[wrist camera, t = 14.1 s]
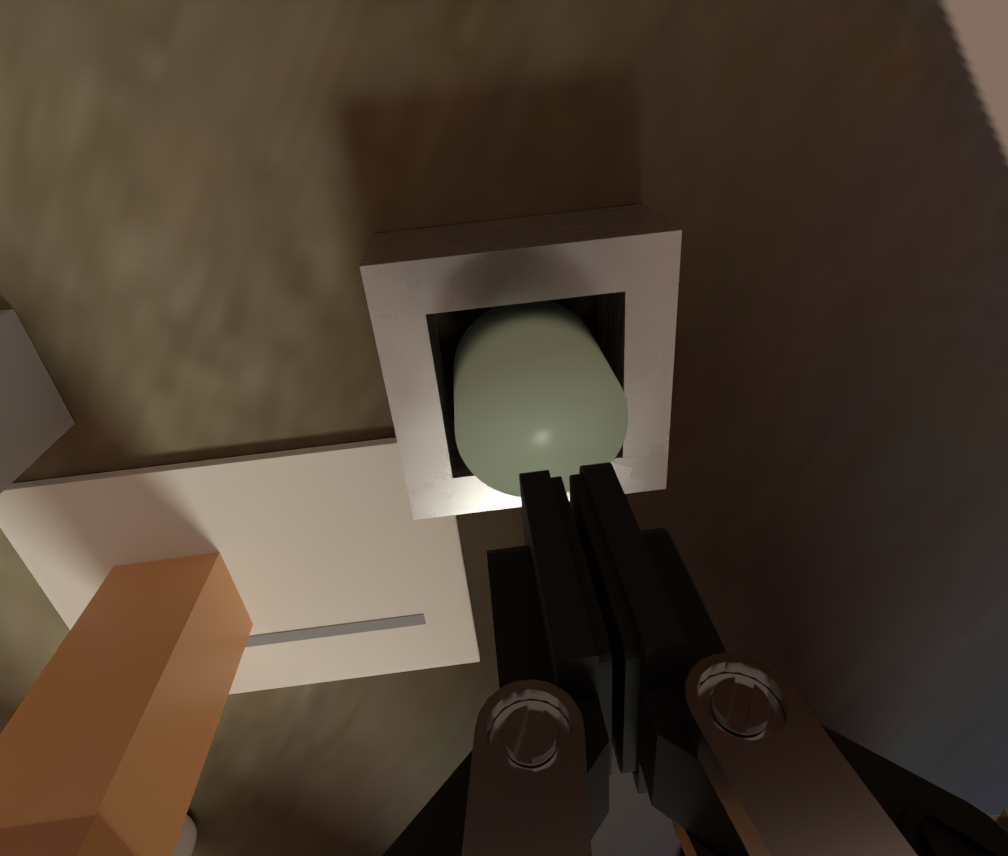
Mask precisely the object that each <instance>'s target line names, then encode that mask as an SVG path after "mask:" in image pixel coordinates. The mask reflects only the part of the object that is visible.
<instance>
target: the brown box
mask: <svg viewBox="0 0 1008 856" xmlns="http://www.w3.org/2000/svg"><path fill="white" fill-rule="evenodd" d="M252 626H253V623H252V621H251V618H250V616H249V614H248V612H247V610H246V608H245V605H244V603H243V601H242V599H241V597H240V595H239V592H238V590H237V588H236V586H235V584H234V582H233V579H232V577H231V575H230V573H229V571H228V569H227V567H226V564H225V562H224V560H223V558H222V556H221V554H220V552H217V553H209V554H202V555H194V556H187V557H179V558H171V559H164V560H156V561H149V562H141V563H134V564H126V565H119V566H113V568H112V569H111V571H110V572H109V574H108V575H107V577H106V578H105V580H104V581H103V583H102V584H101V586H100V587H99V589H98V590H97V592H96V593H95V595H94V596H93V598H92V599H91V601H90V602H89V603H88V605H87V606H86V608H85V609H84V611H83V612H82V614H81V615H80V617H79V618H78V620H77V621H76V623H75V624H74V626H73V627H72V629H71V630H70V632H69V633H68V635H67V636H66V637H65V639H64V640H63V642H62V643H61V645H60V646H59V648H58V649H57V651H56V652H55V654H54V655H53V657H52V658H51V660H50V661H49V663H48V664H47V666H46V667H45V669H44V670H43V672H42V673H41V674H40V676H39V677H38V679H37V680H36V682H35V683H34V685H33V686H32V688H31V689H30V691H29V692H28V694H27V695H26V697H25V698H24V700H23V701H22V703H21V704H20V706H19V707H18V709H17V710H16V711H15V713H14V714H13V716H12V717H11V719H10V720H9V722H8V723H7V725H6V726H5V728H4V729H3V731H2V732H1V734H0V856H172V854H173V851H174V849H175V846H176V843H177V840H178V837H179V834H180V831H181V829H182V826H183V823H184V820H185V817H186V814H187V812H188V809H189V806H190V803H191V800H192V797H193V794H194V792H195V789H196V786H197V783H198V780H199V777H200V774H201V772H202V769H203V766H204V763H205V760H206V757H207V755H208V752H209V749H210V746H211V743H212V740H213V737H214V735H215V732H216V729H217V726H218V723H219V720H220V717H221V715H222V712H223V709H224V706H225V703H226V700H227V697H228V695H229V692H230V689H231V686H232V683H233V680H234V678H235V675H236V672H237V669H238V666H239V663H240V660H241V658H242V655H243V652H244V649H245V646H246V643H247V640H248V638H249V635H250V632H251V629H252Z"/></svg>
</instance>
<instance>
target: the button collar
mask: <svg viewBox="0 0 1008 856" xmlns="http://www.w3.org/2000/svg"><path fill="white" fill-rule="evenodd" d="M681 239H682V230H681V229H680V228H678V227H677V226H675V225H674V224H672V223H671V222H669V221H668V220H666V219H665V218H663V217H662V216H660V215H659V214H657V213H655V212H654V211H652V210H651V209H649V208H648V207H646V206H645V205H643V204H636V205H627V206H618V207H609V208H600V209H591V210H582V211H573V212H564V213H555V214H546V215H537V216H528V217H519V218H510V219H502V220H493V221H484V222H475V223H466V224H457V225H448V226H439V227H430V228H421V229H412V230H403V231H394V232H385V233H376V234H374V235H373V238H372V240H371V242H370V244H369V246H368V249H367V251H366V253H365V255H364V258H363V260H362V262H361V264H360V266H359V267H360V271H361V276H362V281H363V285H364V290H365V295H366V299H367V304H368V309H369V313H370V318H371V322H372V327H373V332H374V336H375V341H376V346H377V350H378V355H379V359H380V364H381V369H382V373H383V378H384V383H385V387H386V392H387V397H388V401H389V406H390V410H391V415H392V420H393V424H394V429H395V434H396V438H397V443H398V447H399V452H400V457H401V461H402V466H403V471H404V475H405V480H406V485H407V489H408V494H409V498H410V503H411V508H412V512H413V517H414V520H419V519H427V518H435V517H443V516H451V515H459V514H467V513H475V512H483V511H491V510H499V509H507V508H515V507H522V503H521V497H516V496H512V495H508V494H505V493H502V492H500V491H497V490H495V489H493V488H491V487H489V486H487V485H486V484H485V483H483V482H482V481H480V480H479V479H478V478H477V477H476V476H475V475H474V474H473V473H472V472H471V471H470V470H469V468H468V467H467V466H466V464H465V463H464V461H463V459H462V458H461V455H460V453H459V450H458V448H457V443H456V439H455V424H454V420H453V421H452V419H451V413H450V406H449V400H448V394H447V387H446V381H445V375H444V368H443V362H442V355H441V349H440V343H439V336H438V330H437V324H436V317H435V313H442V312H451V311H460V310H468V309H477V308H486V307H494V306H503V305H512V304H520V303H529V302H538V301H546V300H555V299H564V298H572V297H581V296H590V295H597V344H598V346H599V348H600V350H601V352H602V353H603V355H604V357H605V359H606V360H607V362H608V364H609V366H610V368H611V369H612V371H613V373H614V375H615V376H616V378H617V380H618V382H619V384H620V385H621V387H622V389H623V392H624V394H625V397H626V400H627V405H628V415H629V419H628V429H627V433H626V437H625V439H624V442H623V445H622V447H621V449H620V451H619V452H618V454H617V456H616V457H615V458H614V460H613V461H612V463H611V464H612V466H613V468H614V470H615V473H616V475H617V477H618V480H619V482H620V484H621V487H622V489H623V491H624V494H628V493H636V492H644V491H652V490H660V489H666V482H667V466H668V449H669V433H670V417H671V401H672V385H673V369H674V352H675V336H676V320H677V304H678V288H679V272H680V255H681ZM566 494H567V497H568V500H569V501H570V492H568V493H566Z"/></svg>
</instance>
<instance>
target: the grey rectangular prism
mask: <svg viewBox="0 0 1008 856" xmlns="http://www.w3.org/2000/svg"><path fill="white" fill-rule="evenodd" d="M74 424H75V422H74V420H73V419H72V417H71V415H70V413H69V411H68V409H67V407H66V405H65V404H64V402H63V400H62V398H61V396H60V394H59V392H58V391H57V389H56V387H55V385H54V383H53V381H52V379H51V377H50V376H49V374H48V372H47V370H46V368H45V366H44V364H43V362H42V361H41V359H40V357H39V355H38V353H37V351H36V349H35V347H34V346H33V344H32V342H31V340H30V338H29V336H28V334H27V333H26V331H25V329H24V327H23V325H22V323H21V321H20V319H19V318H18V316H17V314H16V312H15V310H14V309H7V310H0V494H1V493H2V492H3V491H4V490H5V489H6V488H7V487H8V486H9V485H10V484H11V483H12V482H13V481H14V480H15V479H17V478H18V477H19V476H20V475H21V474H22V473H23V472H24V471H25V470H26V469H27V468H28V467H29V466H30V465H31V464H32V463H34V462H35V461H36V460H37V459H38V458H39V457H40V456H41V455H42V454H43V453H44V452H45V451H46V450H47V449H48V448H49V447H51V446H52V445H53V444H54V443H55V442H56V441H57V440H58V439H59V438H60V437H61V436H62V435H63V434H64V433H65V432H67V431H68V430H69V429H70V428H71V427H72V426H73V425H74Z"/></svg>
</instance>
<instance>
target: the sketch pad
mask: <svg viewBox="0 0 1008 856" xmlns="http://www.w3.org/2000/svg"><path fill="white" fill-rule="evenodd" d="M0 528H1V529H2V531H3V532H4V534H5V535H6V537H7V538H8V540H9V541H10V543H11V544H12V545H13V547H14V548H15V550H16V551H17V553H18V554H19V556H20V557H21V559H22V560H23V562H24V563H25V565H26V566H27V568H28V569H29V570H30V572H31V573H32V575H33V576H34V578H35V579H36V581H37V582H38V584H39V585H40V587H41V588H42V590H43V591H44V592H45V594H46V595H47V597H48V598H49V600H50V601H51V603H52V604H53V606H54V607H55V609H56V610H57V612H58V613H59V614H60V616H61V617H62V619H63V620H64V622H65V623H66V625H67V626H68V628H69V629H70V630H71V629H72V627H73V626H74V624H75V623H76V621H77V620H78V618H79V617H80V615H81V614H82V612H83V611H84V609H85V608H86V606H87V605H88V603H89V602H90V601H91V599H92V598H93V596H94V595H95V593H96V592H97V590H98V589H99V587H100V586H101V584H102V583H103V581H104V580H105V578H106V577H107V575H108V574H109V572H110V571H111V569H112V568H113V566H119V565H126V564H134V563H141V562H149V561H156V560H164V559H171V558H179V557H187V556H194V555H202V554H209V553H217V552H220V554H221V556H222V558H223V560H224V562H225V564H226V567H227V569H228V571H229V573H230V575H231V577H232V579H233V582H234V584H235V586H236V588H237V590H238V592H239V595H240V597H241V599H242V601H243V603H244V605H245V608H246V610H247V612H248V614H249V616H250V618H251V621H252V623H253V626H252V629H251V632H250V635H249V638H248V640H247V643H246V646H245V649H244V652H243V655H242V658H241V660H240V663H239V666H238V669H237V672H236V675H235V678H234V680H233V683H232V686H231V689H230V692H229V694H236V693H243V692H251V691H259V690H266V689H274V688H282V687H289V686H297V685H305V684H312V683H320V682H328V681H335V680H343V679H351V678H358V677H366V676H374V675H381V674H389V673H397V672H404V671H412V670H420V669H427V668H435V667H443V666H450V665H458V664H466V663H473V662H480V654H479V648H478V642H477V636H476V630H475V624H474V619H473V613H472V607H471V601H470V595H469V589H468V583H467V577H466V571H465V565H464V559H463V553H462V547H461V541H460V535H459V529H458V524H457V518H456V515H451V516H443V517H435V518H427V519H419V520H414V517H413V512H412V508H411V503H410V498H409V494H408V489H407V485H406V480H405V475H404V471H403V466H402V461H401V457H400V452H399V447H398V443H397V438H396V437H394V438H386V439H377V440H369V441H361V442H353V443H344V444H336V445H328V446H319V447H311V448H303V449H294V450H286V451H278V452H270V453H261V454H253V455H245V456H236V457H228V458H220V459H211V460H203V461H195V462H187V463H178V464H170V465H162V466H153V467H145V468H137V469H128V470H120V471H112V472H104V473H95V474H87V475H79V476H70V477H62V478H54V479H45V480H37V481H29V482H21V483H12V484H10V485H9V486H8V487H7V488H6V489H5V490H4V491H3V492H2V493H1V494H0Z"/></svg>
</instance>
